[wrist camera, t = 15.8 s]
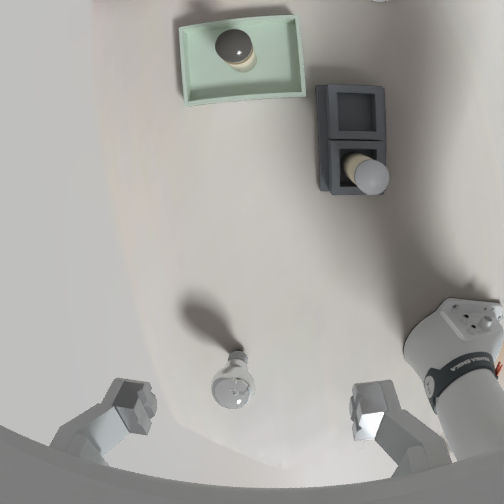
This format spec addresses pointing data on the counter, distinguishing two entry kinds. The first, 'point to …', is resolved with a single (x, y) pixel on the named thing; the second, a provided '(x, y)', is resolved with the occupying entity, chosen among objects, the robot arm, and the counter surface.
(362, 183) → the fuse
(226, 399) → the light bulb
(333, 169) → the fuse block
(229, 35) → the fuse
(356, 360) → the counter surface
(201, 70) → the parts tray
